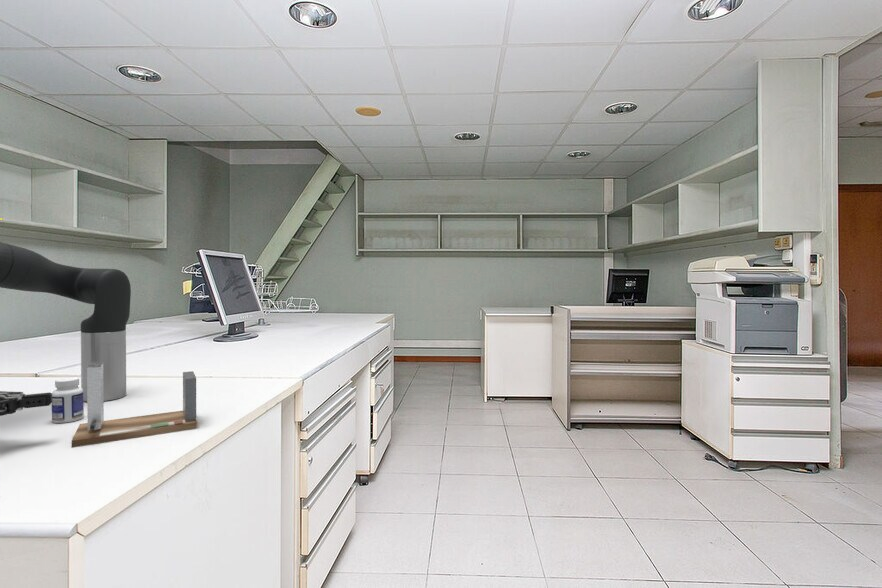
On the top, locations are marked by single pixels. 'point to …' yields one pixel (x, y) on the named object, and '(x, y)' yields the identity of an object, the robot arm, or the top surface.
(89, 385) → the brushed steel sheet
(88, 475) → the top surface
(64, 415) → the pill bottle
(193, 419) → the grey wood-grain slab
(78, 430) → the brown wooden base board
